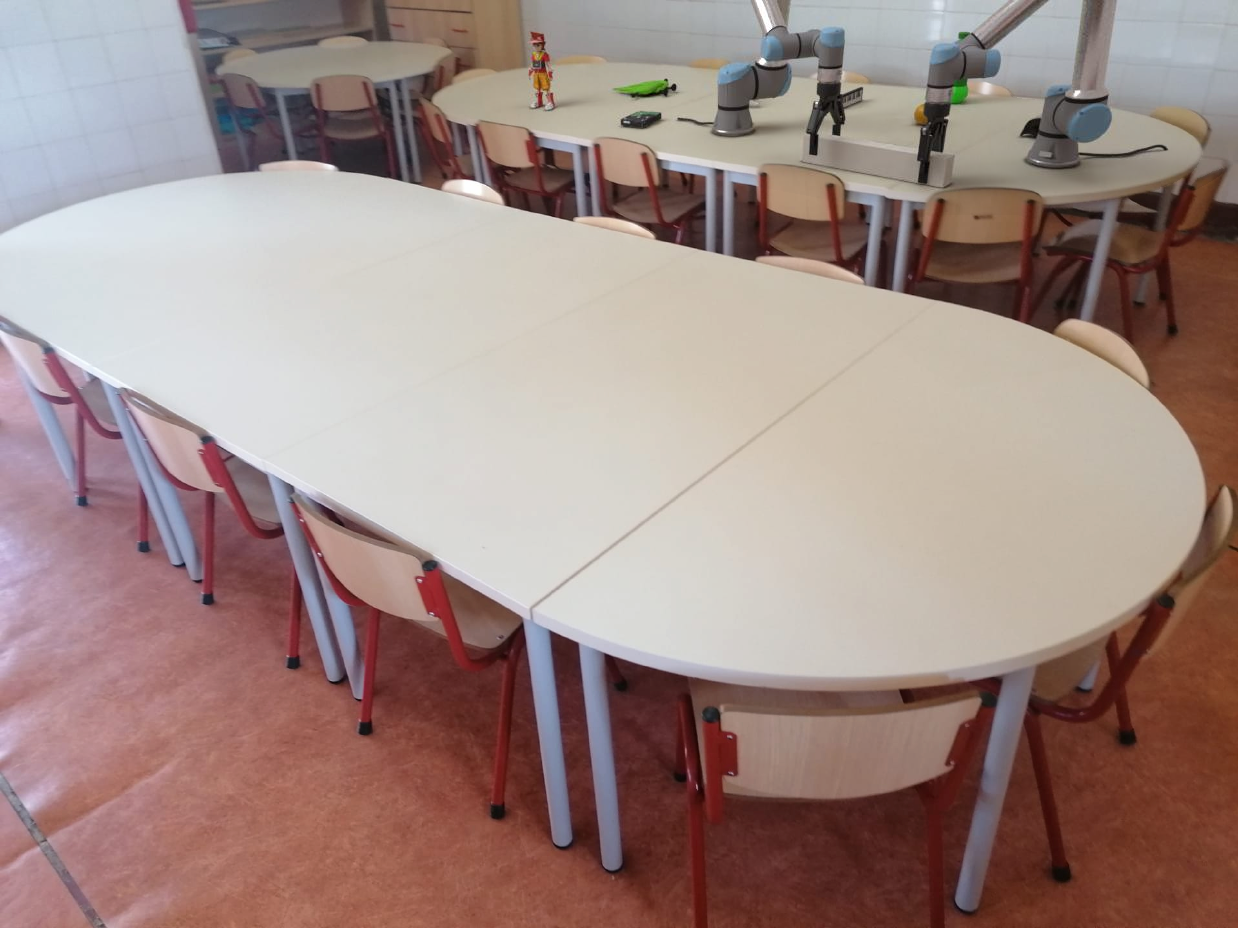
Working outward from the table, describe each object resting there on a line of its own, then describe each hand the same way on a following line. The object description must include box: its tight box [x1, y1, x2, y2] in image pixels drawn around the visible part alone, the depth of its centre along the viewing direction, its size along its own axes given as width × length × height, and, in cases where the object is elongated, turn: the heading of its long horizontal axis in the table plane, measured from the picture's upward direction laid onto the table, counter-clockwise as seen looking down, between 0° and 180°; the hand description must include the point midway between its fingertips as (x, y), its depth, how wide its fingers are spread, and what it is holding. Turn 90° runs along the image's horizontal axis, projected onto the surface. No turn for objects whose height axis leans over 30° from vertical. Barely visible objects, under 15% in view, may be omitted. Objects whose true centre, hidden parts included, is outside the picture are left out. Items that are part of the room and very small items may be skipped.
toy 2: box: [612, 78, 677, 99], centre depth 396 cm, size 28×5×30 cm
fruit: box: [913, 103, 927, 126], centre depth 329 cm, size 8×8×8 cm
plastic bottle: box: [950, 31, 971, 104], centre depth 348 cm, size 10×10×25 cm
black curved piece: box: [1019, 113, 1042, 139], centre depth 316 cm, size 30×9×10 cm
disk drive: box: [620, 110, 663, 129], centre depth 352 cm, size 10×3×15 cm
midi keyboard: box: [841, 86, 864, 108], centre depth 358 cm, size 18×1×5 cm, turn 138°
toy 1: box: [527, 31, 556, 111], centre depth 374 cm, size 12×9×30 cm
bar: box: [801, 132, 956, 189], centre depth 286 cm, size 50×5×9 cm, turn 47°
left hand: (824, 150), depth 296 cm, fingers open, 13 cm apart
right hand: (926, 180), depth 277 cm, fingers closed on bar, 5 cm apart
